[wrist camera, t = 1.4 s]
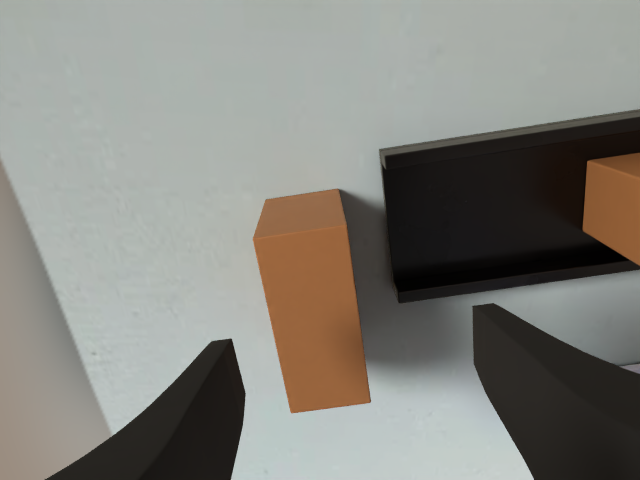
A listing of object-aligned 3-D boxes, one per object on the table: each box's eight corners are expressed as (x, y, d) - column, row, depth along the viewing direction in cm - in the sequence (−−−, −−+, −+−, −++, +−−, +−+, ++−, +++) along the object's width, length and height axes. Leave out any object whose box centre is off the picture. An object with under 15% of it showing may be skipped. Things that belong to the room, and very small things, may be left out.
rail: (753, 237, 22) (785, 249, 20) (392, 288, 22) (398, 304, 21) (785, 86, 19) (825, 88, 18) (378, 149, 20) (384, 155, 18)
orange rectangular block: (338, 188, 21) (347, 224, 16) (358, 335, 23) (371, 403, 19) (265, 199, 21) (252, 238, 16) (294, 344, 24) (290, 414, 19)
